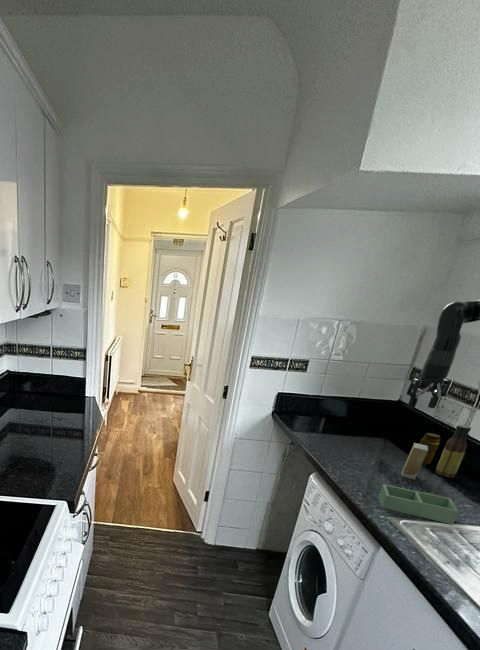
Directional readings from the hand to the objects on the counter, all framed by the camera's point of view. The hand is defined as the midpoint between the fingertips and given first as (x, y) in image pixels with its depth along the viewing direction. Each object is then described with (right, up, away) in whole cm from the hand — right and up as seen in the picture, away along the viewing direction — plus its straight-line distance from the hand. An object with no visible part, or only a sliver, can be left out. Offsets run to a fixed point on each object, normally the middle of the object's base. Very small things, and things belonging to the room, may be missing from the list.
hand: (421, 407), depth 151 cm
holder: (-17, -35, -19) cm, 44 cm away
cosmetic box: (0, -25, +6) cm, 26 cm away
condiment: (+16, -20, +21) cm, 33 cm away
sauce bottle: (+16, -25, +9) cm, 31 cm away
